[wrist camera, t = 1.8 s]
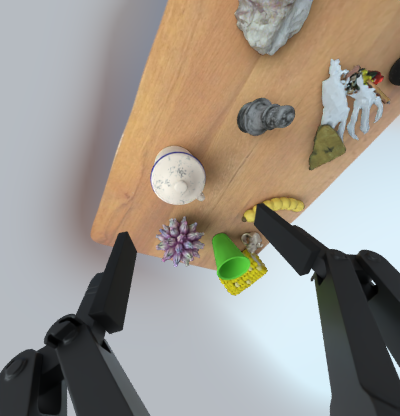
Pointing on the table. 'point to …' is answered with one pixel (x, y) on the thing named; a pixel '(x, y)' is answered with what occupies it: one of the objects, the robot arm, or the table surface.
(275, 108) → the grey carved upright piece
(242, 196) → the table surface
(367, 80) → the toy figure
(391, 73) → the billiard ball
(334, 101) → the decorative object
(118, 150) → the table surface
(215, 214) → the table surface
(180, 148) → the teacup with lid
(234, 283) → the food
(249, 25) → the grey ridged fossil rock
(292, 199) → the yellow segmented curved bar
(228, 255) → the cup
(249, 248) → the ornament
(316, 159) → the stone
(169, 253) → the flower
